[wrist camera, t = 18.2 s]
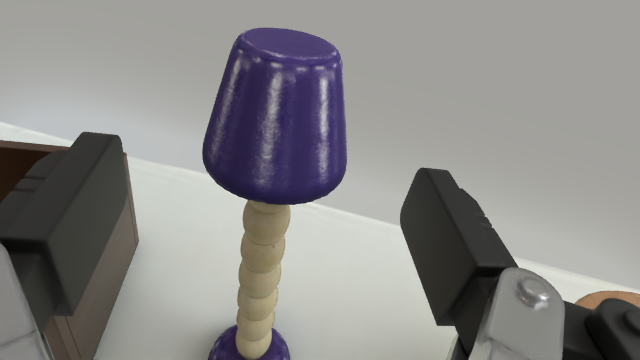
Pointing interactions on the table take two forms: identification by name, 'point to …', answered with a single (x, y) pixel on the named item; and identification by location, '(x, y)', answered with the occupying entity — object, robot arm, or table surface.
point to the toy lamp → (273, 162)
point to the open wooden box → (100, 295)
